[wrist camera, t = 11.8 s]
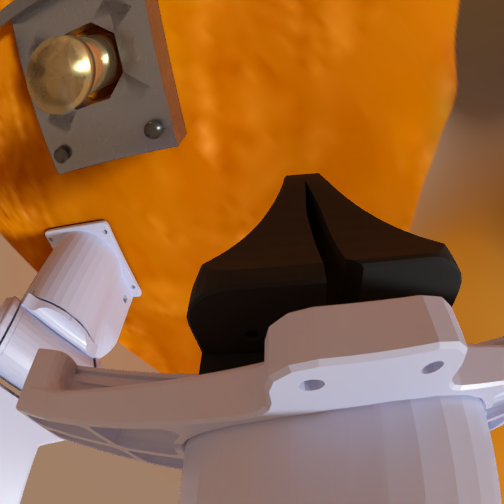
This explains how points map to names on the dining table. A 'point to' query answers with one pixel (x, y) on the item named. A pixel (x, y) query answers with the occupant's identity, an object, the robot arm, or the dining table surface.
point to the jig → (126, 91)
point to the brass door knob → (71, 70)
